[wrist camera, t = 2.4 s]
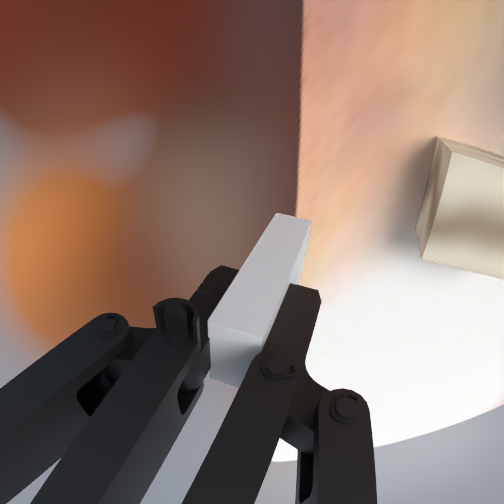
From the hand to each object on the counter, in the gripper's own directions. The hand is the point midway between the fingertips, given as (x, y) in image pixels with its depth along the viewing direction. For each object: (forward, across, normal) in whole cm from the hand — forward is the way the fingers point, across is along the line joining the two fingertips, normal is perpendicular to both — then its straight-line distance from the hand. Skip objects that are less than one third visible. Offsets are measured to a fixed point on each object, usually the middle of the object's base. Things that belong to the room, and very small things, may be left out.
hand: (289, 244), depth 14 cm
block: (+13, +12, 0) cm, 18 cm away
